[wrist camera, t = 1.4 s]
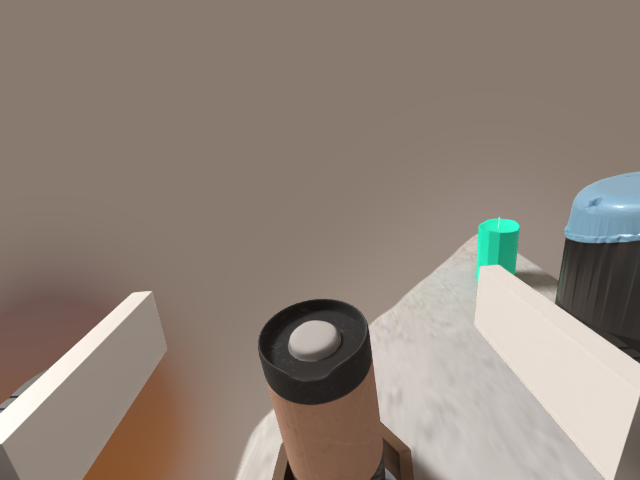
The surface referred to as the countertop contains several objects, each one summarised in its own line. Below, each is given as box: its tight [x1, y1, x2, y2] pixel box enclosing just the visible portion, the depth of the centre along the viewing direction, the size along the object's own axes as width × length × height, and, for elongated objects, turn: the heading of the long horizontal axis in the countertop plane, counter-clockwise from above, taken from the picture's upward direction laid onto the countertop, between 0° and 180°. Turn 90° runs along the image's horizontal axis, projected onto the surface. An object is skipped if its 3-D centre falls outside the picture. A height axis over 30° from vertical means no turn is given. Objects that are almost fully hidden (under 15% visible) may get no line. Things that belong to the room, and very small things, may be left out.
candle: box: [476, 217, 520, 280], centre depth 56 cm, size 6×6×12 cm
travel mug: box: [258, 299, 385, 480], centre depth 25 cm, size 8×8×20 cm
